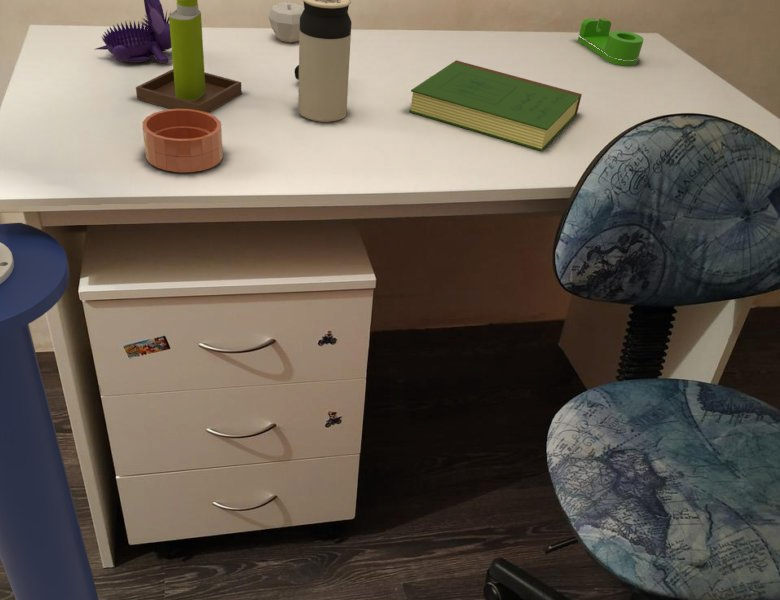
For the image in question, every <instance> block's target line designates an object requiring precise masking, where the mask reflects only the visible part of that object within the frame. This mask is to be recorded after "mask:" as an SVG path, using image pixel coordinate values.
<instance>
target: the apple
mask: <svg viewBox="0 0 780 600" xmlns="http://www.w3.org/2000/svg"><path fill="white" fill-rule="evenodd" d="M303 11H304V5H301V4H299V3H293V2H280V3H279V2H278V3H275V4H274V5H273V6H272V7H271V8H270V11H269V15H268V20H269V23H270V26H271V30H272V31H273V33H274V35H275V36H276V37H277V39H278V40H280V41H281V42H285V43H290V44H291V43H296V42H299V31H300V16H301V14H302V12H303Z"/></svg>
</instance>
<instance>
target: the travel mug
mask: <svg viewBox="0 0 780 600" xmlns="http://www.w3.org/2000/svg"><path fill="white" fill-rule="evenodd" d="M302 1H303V7H304V11H303V12H302V14H301V16H300V31H299V40H298V65H299V80H298V99H297V100H298V103H297V104H298V107H297V111H298V113H299V115H301V116H302V117H304V118H306V119H308V120H311V121H313V122H320V123H333V122H335V121H339V120H342V119H344V118H345V117H346V116H347V110H348V96H349V95H348V94H349V93H348V92H349V74H350V57H351V41H352V39H351V38H352V20H351V17H350V15H349V8H350V5H351V3H352V0H302Z"/></svg>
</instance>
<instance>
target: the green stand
mask: <svg viewBox="0 0 780 600" xmlns="http://www.w3.org/2000/svg"><path fill="white" fill-rule="evenodd" d="M611 27H612V22H611V21H610V20H609V19H607V18H604V17H603V18H601V17H600V18H598V19H596V18H585V19H584V20H583V21H582V22H581V24H580V29H579V33H578V37H577V42H578V43H579V44H581V45H582V46H583V47H585V48H587V49H589V50H590V51H592V52H593V53H595V54H596V55H598V56H599V57H601V58H602V59H603V60H605V61H606V62H608V63H610V64H613V65H618V66H623V67H630V66H631V67H632V66H635V65H637V64H638V61H639V58H638V57H640V53H641V51H642V47H643V44H644V37H643V36H641V35H640V34H638V33H634V32H632V31H631V32H630V31H627V30H613V31H611ZM579 35H580V36H581V37H582V38H584V39H586V40H587V41H588V42H590V43H592V44H593V45H595V46H596V47H597V48H599V49H600V50H599V49H597V48H596V47H594V46H593V45H591V44H589V43H588V42H586V41H585V40H583V39H582V38H580V37H579ZM601 50H602V51H603V52H602V51H601ZM604 52H605V53H606V54H607V55H608V56H607V55H606V54H605V53H604ZM609 56H611V57H613V58H611V57H609ZM614 58H617V59H614ZM637 58H638V59H637ZM618 59H622V60H618ZM634 59H637V60H634ZM623 60H634V61H623Z"/></svg>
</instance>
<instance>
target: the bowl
mask: <svg viewBox="0 0 780 600" xmlns="http://www.w3.org/2000/svg"><path fill="white" fill-rule="evenodd" d="M141 126H142V127H141V128H142V135H143V143H144V154H145V159H146V160H147V161H148V163H149V164H150V165H152V166H154V167H156V168H157V169H160V170H163V171H168V172H173V173H194V172H195V173H197V172H202V171H206V170H209V169H212V168H214V167H215V166H217V165H218V164H220V163H221V161H222V159H223V158H224V155H223V153H224V151H223V132H222V122H221V121H220V119H218V117H217V116H215V115H213V114H211V113H210V112H209V113H206V112H203V111H199V110H193V109H169V108H168V109H162V110H159V111H155V112H152V113H151V114H149V115H147V116H146V117H145V118H144V119H143V121H142V125H141Z"/></svg>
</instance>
